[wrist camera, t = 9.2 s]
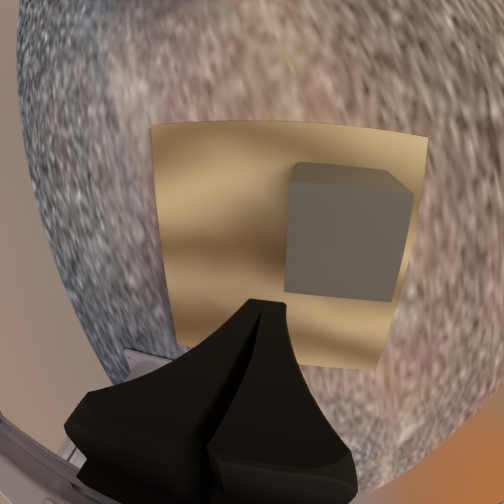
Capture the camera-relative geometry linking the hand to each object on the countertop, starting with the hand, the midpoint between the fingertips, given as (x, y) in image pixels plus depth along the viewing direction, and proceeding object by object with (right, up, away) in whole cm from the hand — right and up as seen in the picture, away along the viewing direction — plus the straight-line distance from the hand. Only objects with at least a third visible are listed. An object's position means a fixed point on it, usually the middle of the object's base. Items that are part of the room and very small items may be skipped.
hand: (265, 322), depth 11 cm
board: (+1, +2, +10) cm, 10 cm away
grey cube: (+5, +5, +7) cm, 10 cm away
